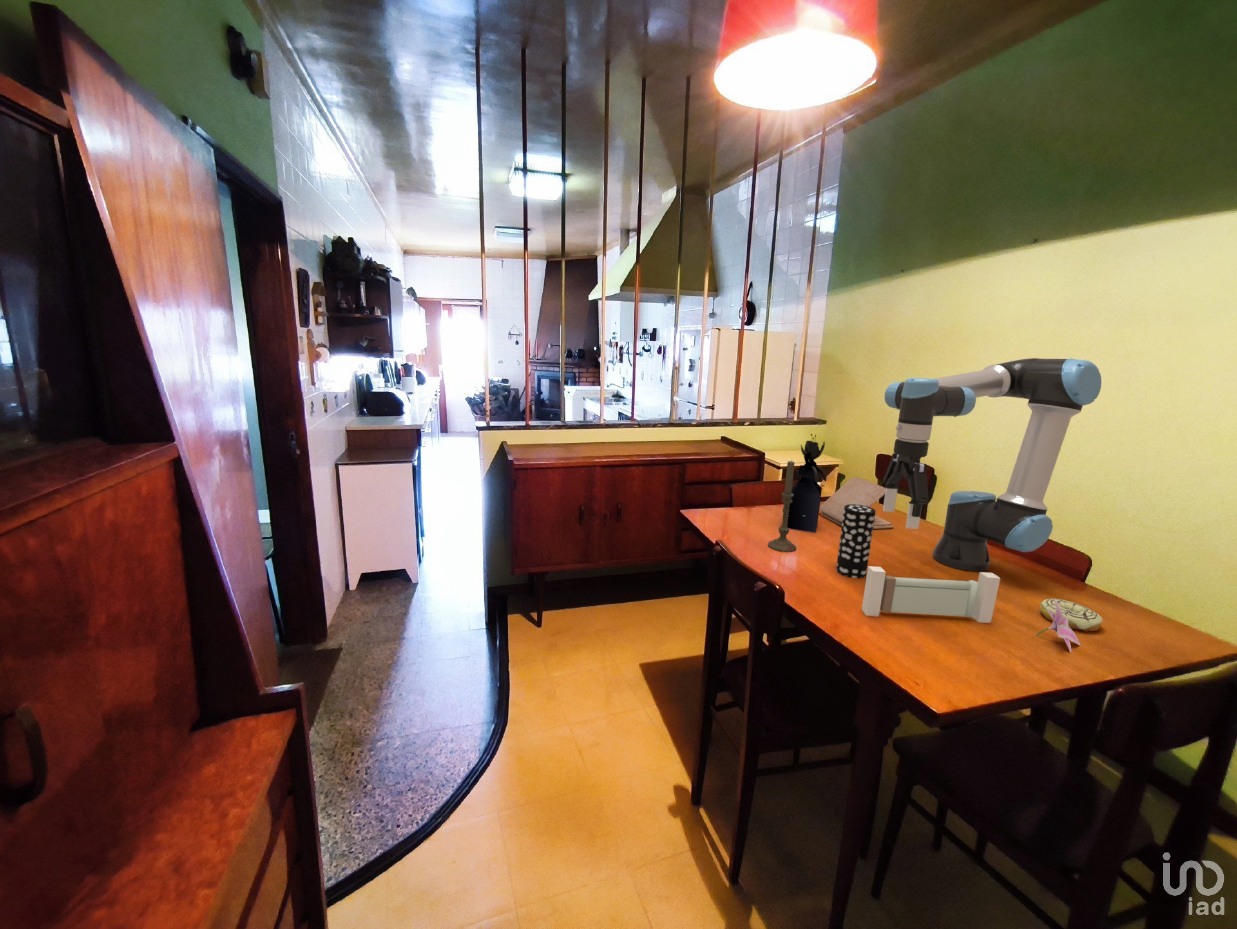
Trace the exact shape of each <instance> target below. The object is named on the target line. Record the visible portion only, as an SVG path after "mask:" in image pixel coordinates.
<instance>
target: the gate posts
mask: <svg viewBox="0 0 1237 929" xmlns="http://www.w3.org/2000/svg"><path fill="white" fill-rule="evenodd" d="M885 575H886V571H885V570H884V569H883V568H882V567H881V566H871V565H870V566H869V565H868V566H867V573H866V579H865V583H864V584H865V585H864V586H865V587H864V592H863V598H862V599H863V600H862V606H861V611H862V612H863V613H864V615H865V616H867V617H879V616H880V611H881V610H880V605H881V599H882V593H883V586H884V580H885ZM1000 581H1001V578H1000V577H999V576H998V575H997V574H994V573H993V572H984V571H979V574H978V580H977V582H978V588H977V593H976V598H975V603H974V608H973V613H972V617H971V618H972V619H973V620H975V621H976V622H977V623H980V624H981V623H982V624H983V623H986V624H991V623H992V619H993V615H994V611H995V606H996V605H995V604H996V601H997V600H996V599H997V595H998V591H999V585H1000Z"/></svg>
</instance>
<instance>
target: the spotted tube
mask: <svg viewBox="0 0 1237 929" xmlns="http://www.w3.org/2000/svg"><path fill="white" fill-rule="evenodd" d="M876 512H877V510H876V509H875V508H873V507H872V506H871V507H868V506H863V505H856V504H849V505H845V506H844V514H843V521H842V526H841V530H840V537H839V538H840V539H839V544H838V553H837V561H836V567H835V570H836V573H838V574H840V575H841V576H844V577H847V578H853V579H863V578H865V577H866V578H867V571H868V566H869V558H870V553H871V547H872V546H871V545H872V540H873V539H872V538H873V532H874V529H873V526H874V519H875V516H876Z"/></svg>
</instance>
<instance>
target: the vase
mask: <svg viewBox="0 0 1237 929" xmlns="http://www.w3.org/2000/svg"><path fill="white" fill-rule="evenodd" d="M810 436H812V440H805V444H804V447H803V445H802V444H800V450H801V453H802V456H803V459H804V465H802V464H801V465H800V466H799V468H798V473H797V477H798V476H800V479H799V480H798V481H796V482H795V483H793V484H792V491H791V493H792V494H794V496H793V497H792V503H790V504H789V513H788V518H787V519H788V520H787V528H789V530H794V531H800V532H807V533H814V534H816V532H817V528H818V524H819V514H820V506H821V501H822V499H821V498H822V491H823V488H822V486H821V485H820V484H819V478H820V477H819V472H820V474H821V476H822V479H823V481H824V482H827V474H826V471H825V470H824V469H823V468H822V467H821V466H819V465H818V464H817V462H816V461H815V460H816V459H818V458H819V457H820V456H822V454H823V452H824V450H825V447H826V444H825V443H826V442H825V441H823V443H822V445H821V447H819V442H818V441H817V440H815V438H817V435H816V434H815V435H814V436H813V434H812V433H810ZM813 440H814V441H813Z"/></svg>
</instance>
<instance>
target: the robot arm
mask: <svg viewBox="0 0 1237 929" xmlns="http://www.w3.org/2000/svg"><path fill="white" fill-rule="evenodd" d="M1101 389H1102V374H1101V372H1100V370H1099V367H1098V366H1097V365H1096V364H1095V363H1093V362H1092V361H1091V360H1090V361H1089V360H1086V359H1077V358H1039V357H1038V358H1037V357H1035V358H1034V357H1033V358H1032V357H1030V358H1029V357H1028V358H1023V359H1017V360H1010V361H1006V362H1002V363H997V364H991V365H990V364H989V365H988V366H986V367H985V368H983V369H981V370H977V371H976V370H975V371H971V372H964V373H958V374H954V375H948V376H942V377H935V378H923V377H922V378H921V377H909V378H906V379H905V381H901V382H899V381H898V382H897V381H896V382H892V383H891V384H889V385H888V386H887V388H886V389H885V392H884V402H885V403H886V405H887V406H888V407H889V408H892V409H896V410H898V411H899V414H898V418H897V419H898V422H897V425H896V427H895V429H896V434H895V437H896V439H895V441H894V444H893V445H894V447H893V453H892V454H891V458H890V462H889V465H888V466H887V469H886V472H885V474H884V476H883V479H882V484H884V486H885V487H884V488H886V492H885V495H884V499H883V507H882V511H883V512H886V513H895V507H896V502H897V495H898V489H899V483H900V482H901V481H902V479H905V480H906V481H907V484H908V490H909V495H910V499H911V500H910V501H908V510H907V515H906V522H905V528H906V529H908V530H909V529H913V530H914V529H915V530H919V526H920V522H921V521H920V519H921V514H922V508H923V505H928V504H929V502H930V500H929V499H930V498H929V486H928V477H927V476H928V474H927V472H928V464H927V463H921V459H922V458H925V457H926V456H928V450H929V442H928V441H930V440H931V432H932V427H933V421H934V417H954V418H956V417H961V416H966V415H968V414H970V413H971V412H972V411H973V410H974V408H975V407H976V403H977V398H983V397H989V398H1000V397H1007V398H1018V399H1025V400H1028V401H1027V407H1028V408H1030V411H1031V413H1030V417H1029V420H1028V423H1027V426H1026V429H1025V432H1024V435H1023V438H1022V442H1021V445H1020V449H1019V451H1018V455H1017V457H1016V460H1015V464H1014V466H1013V469H1012V473H1011V475H1010V478H1009V482H1008V485H1007V488H1006V490H1005V492H1004V493H1003V494H1000V495H998V496H996V495H995V493H991V492H984V491H975V490H973V491H972V490H959V491H958V490H957V491H954V492H952V493H951V494H950V496H949V501H948V503H947V509H946V516H945V522H944V527H943V534H942V535H941V538H940V539H939V541H938V542H937V544H936V546H935V547H934V549H933V553H932V558H933V559H934V560H935V561H936V562H938V563H940V564H943V565H945V566H947V567H951V568H953V569H957V570H962V571H968V572H984V571H987V570H989V568H990V564H991V563H990V562H991V559H990V555H989V548H988V541H990V542H993V543H996V544H998V545H1001V546H1004V547H1006V548H1007V549H1008V550H1009V549H1010V550H1011V549H1012V550H1015V551H1018V552H1021V553H1029V552H1033V551H1037V550H1038V549H1039V548H1040V547H1042V546H1043V545H1044V544H1045V543H1046V542H1047V541H1048V539H1049V538H1050V536H1051V534H1052V532H1053V521H1052V519H1051V517H1050V516H1048V515H1046V514H1047V512H1048V510H1049V508H1048V507H1047V505H1046V504H1045V503H1044V499H1045V496H1046V493H1047V491H1048V486H1049V484H1050V481H1051V477H1052V475H1053V472H1054V469H1055V466H1056V464H1057V460H1058V457H1059V454H1060V452H1061V449H1062V446H1063V442H1064V440H1065V437H1066V434H1067V431H1068V428H1069V425H1070V422H1071V419H1072V418H1073V417H1074V416H1076V415H1078V414H1080V413H1081V412H1082V409H1083V406H1087V405H1090V404H1092V403H1094V402H1095V400H1096V399H1097V398H1098V397H1099V395H1100V392H1101ZM903 477H904V478H903Z"/></svg>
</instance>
